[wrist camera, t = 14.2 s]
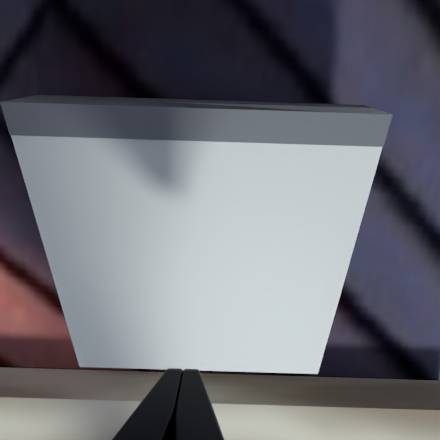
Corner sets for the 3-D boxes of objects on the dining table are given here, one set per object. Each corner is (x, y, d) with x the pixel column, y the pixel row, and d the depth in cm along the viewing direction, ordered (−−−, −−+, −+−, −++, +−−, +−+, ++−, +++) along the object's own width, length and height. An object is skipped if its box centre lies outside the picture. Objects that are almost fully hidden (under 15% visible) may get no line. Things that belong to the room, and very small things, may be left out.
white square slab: (318, 374, 15) (392, 114, 9) (78, 367, 15) (0, 101, 9) (307, 340, 17) (364, 105, 11) (94, 334, 17) (37, 94, 11)
